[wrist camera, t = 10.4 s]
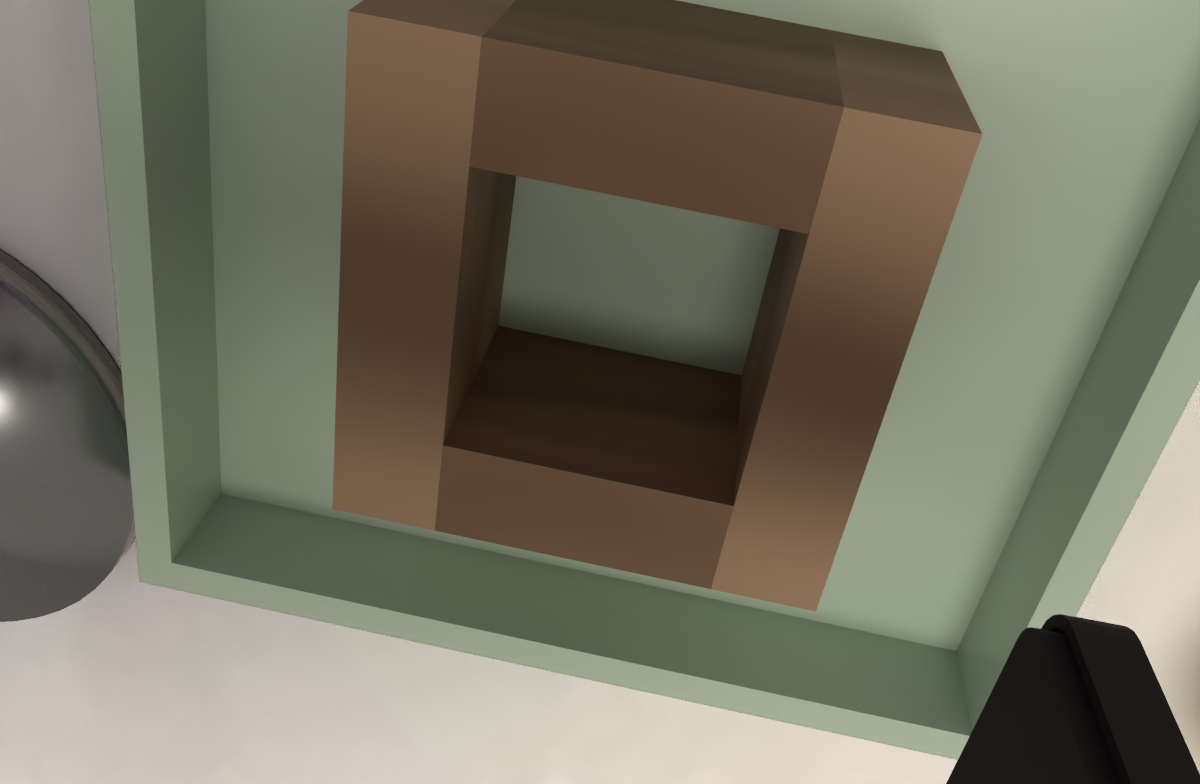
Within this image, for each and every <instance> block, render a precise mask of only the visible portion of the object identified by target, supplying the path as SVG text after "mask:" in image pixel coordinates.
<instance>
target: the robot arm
mask: <svg viewBox="0 0 1200 784" xmlns="http://www.w3.org/2000/svg"><path fill="white" fill-rule="evenodd" d="M946 784H1200V774H1199V772H1198V770H1197V767H1196V765H1195V763H1194V761H1193V758H1192V756H1191V754H1190V752H1189V749H1188V747H1187V745H1186V743H1185V740H1184V738H1183V736H1182V734H1181V731H1180V729H1179V727H1178V725H1177V723H1176V720H1175V718H1174V716H1173V714H1172V711H1171V709H1170V707H1169V705H1168V702H1167V700H1166V698H1165V696H1164V693H1163V691H1162V689H1161V687H1160V684H1159V682H1158V680H1157V678H1156V675H1155V673H1154V671H1153V669H1152V666H1151V664H1150V662H1149V660H1148V657H1147V655H1146V653H1145V651H1144V648H1143V646H1142V644H1141V642H1140V640H1139V638H1138V637H1137V635H1136V634H1135V632H1134V631H1133V630H1131V629H1129V628H1128V627H1126V626H1121V625H1115V624H1110V623H1105V622H1099V621H1094V620H1089V619H1083V618H1078V617H1073V616H1067V615H1062V614H1058V615H1053V616H1051V617H1050V618H1049V619H1048V620H1046V622H1045V623H1044V625H1043V626H1042V628H1041V629H1038V628H1033V627H1030V628H1026V629H1025V630H1023V631H1022V632H1021V634H1020V635H1019V637H1018V639H1017V641H1016V643H1015V645H1014V647H1013V649H1012V651H1011V653H1010V655H1009V657H1008V659H1007V661H1006V663H1005V665H1004V667H1003V669H1002V671H1001V673H1000V675H999V677H998V679H997V681H996V683H995V685H994V688H993V690H992V692H991V694H990V696H989V698H988V700H987V702H986V704H985V706H984V708H983V710H982V712H981V714H980V716H979V718H978V720H977V722H976V724H975V726H974V728H973V730H972V732H971V734H970V737H969V739H968V741H967V743H966V745H965V747H964V749H963V751H962V753H961V755H960V757H959V759H958V761H957V763H956V765H955V767H954V769H953V771H952V773H951V775H950V777H949V779H948V781H947V783H946Z"/></svg>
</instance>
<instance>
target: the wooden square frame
mask: <svg viewBox="0 0 1200 784" xmlns="http://www.w3.org/2000/svg"><path fill="white" fill-rule="evenodd" d="M981 137H982V132H981V130H980V128H979V126H978V124H977V122H976V120H975V118H974V116H973V114H972V112H971V110H970V108H969V105H968V103H967V101H966V99H965V97H964V95H963V93H962V91H961V89H960V87H959V85H958V83H957V81H956V79H955V77H954V75H953V73H952V71H951V68H950V66H949V64H948V62H947V60H946V58H945V56H944V54H943V52H942V51H937V50H932V49H927V48H922V47H917V46H911V45H906V44H901V43H896V42H891V41H885V40H880V39H875V38H870V37H865V36H859V35H854V34H849V33H844V32H839V31H833V30H828V29H823V28H818V27H812V26H807V25H802V24H797V23H792V22H786V21H781V20H776V19H771V18H766V17H760V16H755V15H750V14H745V13H740V12H734V11H729V10H724V9H719V8H714V7H708V6H703V5H698V4H693V3H688V2H682V1H677V0H363V1H362V2H360V3H359V4H357V5H356V6H354V7H353V8H351V9H350V10H348V22H347V54H346V86H345V118H344V150H343V183H342V215H341V247H340V279H339V312H338V344H337V376H336V408H335V440H334V473H333V505H332V509H334V510H339V511H344V512H348V513H353V514H358V515H363V516H367V517H372V518H377V519H381V520H386V521H391V522H396V523H400V524H405V525H410V526H415V527H419V528H424V529H429V530H433V531H438V532H443V533H448V534H452V535H457V536H462V537H466V538H471V539H476V540H481V541H485V542H490V543H495V544H500V545H504V546H509V547H514V548H518V549H523V550H528V551H533V552H537V553H542V554H547V555H551V556H556V557H561V558H566V559H570V560H575V561H580V562H584V563H589V564H594V565H599V566H603V567H608V568H613V569H618V570H622V571H627V572H632V573H636V574H641V575H646V576H651V577H655V578H660V579H665V580H669V581H674V582H679V583H684V584H688V585H693V586H698V587H703V588H707V589H712V590H717V591H721V592H726V593H731V594H736V595H740V596H745V597H750V598H754V599H759V600H764V601H769V602H773V603H778V604H783V605H787V606H792V607H797V608H802V609H806V610H811V611H816V610H817V607H818V604H819V601H820V598H821V596H822V593H823V590H824V587H825V584H826V581H827V578H828V575H829V573H830V570H831V567H832V564H833V561H834V558H835V555H836V553H837V550H838V547H839V544H840V541H841V538H842V535H843V532H844V530H845V527H846V524H847V521H848V518H849V515H850V512H851V510H852V507H853V504H854V501H855V498H856V495H857V492H858V489H859V487H860V484H861V481H862V478H863V475H864V472H865V469H866V467H867V464H868V461H869V458H870V455H871V452H872V449H873V447H874V444H875V441H876V438H877V435H878V432H879V429H880V426H881V424H882V421H883V418H884V415H885V412H886V409H887V406H888V404H889V401H890V398H891V395H892V392H893V389H894V386H895V383H896V381H897V378H898V375H899V372H900V369H901V366H902V363H903V361H904V358H905V355H906V352H907V349H908V346H909V343H910V341H911V338H912V335H913V332H914V329H915V326H916V323H917V320H918V318H919V315H920V312H921V309H922V306H923V303H924V300H925V298H926V295H927V292H928V289H929V286H930V283H931V280H932V277H933V275H934V272H935V269H936V266H937V263H938V260H939V257H940V255H941V252H942V249H943V246H944V243H945V240H946V237H947V234H948V232H949V229H950V226H951V223H952V220H953V217H954V214H955V212H956V209H957V206H958V203H959V200H960V197H961V194H962V192H963V189H964V186H965V183H966V180H967V177H968V174H969V171H970V169H971V166H972V163H973V160H974V157H975V154H976V151H977V149H978V146H979V143H980V140H981ZM516 176H519V177H524V178H529V179H534V180H539V181H544V182H549V183H554V184H559V185H564V186H569V187H575V188H580V189H585V190H590V191H595V192H600V193H605V194H610V195H615V196H620V197H625V198H630V199H635V200H640V201H645V202H650V203H655V204H660V205H665V206H670V207H675V208H680V209H685V210H690V211H695V212H700V213H705V214H710V215H715V216H720V217H725V218H730V219H735V220H740V221H745V222H750V223H755V224H760V225H765V226H770V227H775V228H780V230H779V234H778V238H777V242H776V245H775V249H774V253H773V257H772V261H771V265H770V268H769V272H768V276H767V280H766V284H765V288H764V291H763V295H762V299H761V303H760V307H759V311H758V315H757V318H756V322H755V326H754V330H753V334H752V338H751V341H750V345H749V349H748V353H747V357H746V361H745V364H744V368H743V372H742V375H737V374H733V373H728V372H723V371H718V370H713V369H708V368H703V367H698V366H693V365H689V364H684V363H679V362H674V361H669V360H664V359H659V358H654V357H649V356H645V355H640V354H635V353H630V352H625V351H620V350H615V349H610V348H605V347H600V346H596V345H591V344H586V343H581V342H576V341H571V340H566V339H561V338H556V337H552V336H547V335H542V334H537V333H532V332H527V331H522V330H517V329H512V328H507V327H503V326H498V325H499V317H500V309H501V300H502V292H503V284H504V275H505V267H506V258H507V250H508V242H509V233H510V225H511V217H512V208H513V200H514V191H515V183H516Z"/></svg>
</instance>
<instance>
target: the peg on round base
mask: <svg viewBox="0 0 1200 784" xmlns="http://www.w3.org/2000/svg"><path fill="white" fill-rule="evenodd" d="M135 538H136V532H135V521H134V510H133V498H132V487H131V475H130V464H129V452H128V441H127V430H126V418H125V407H124V395H123V384H122V375H121V373H120V371H119V369H118V368H117V366H116V364H115V363H114V361H113V359H112V358H111V356H110V355H109V353H108V352H107V351H106V349H105V348H104V347H103V345H102V344H101V343H100V341H99V340H98V338H97V337H96V336H95V334H94V333H93V332H92V330H91V329H90V328H89V327H88V326H87V325H86V324H85V323H84V321H83V320H82V319H81V318H80V317H79V316H78V315H77V314H76V313H75V311H74V310H73V309H72V308H71V307H70V306H69V305H68V304H67V303H66V302H65V301H64V300H63V299H62V298H61V297H60V296H58V295H57V294H56V293H55V292H54V291H53V290H52V289H51V288H50V287H49V286H48V285H47V284H45V283H44V282H43V281H42V280H41V279H40V278H38V277H37V276H36V275H34V274H33V273H32V272H31V271H29V270H28V269H27V268H25V267H24V266H23V265H21V264H20V263H19V262H17V261H16V260H15V259H14V258H12V257H11V256H9V255H7V254H6V253H4V252H3V251H1V250H0V622H4V621H18V620H24V619H30V618H37V617H40V616H44V615H47V614H50V613H53V612H56V611H59V610H61V609H64V608H66V607H68V606H70V605H72V604H74V603H76V602H78V601H79V600H81V599H82V598H83V597H85V596H86V595H87V594H89V593H90V592H92V591H93V590H94V589H95V588H96V587H97V586H98V585H99V584H100V583H101V582H102V581H103V580H104V579H105V578H106V577H107V576H108V574H109V573H110V572H111V571H112V570H113V568H114V567H115V566H116V564H117V563H118V562H119V561H120V559H121V558H122V557H123V556H124V554H125V553H126V552H127V550H128V549H129V548H130V546H131V545H132V543H133V541H134V540H135Z"/></svg>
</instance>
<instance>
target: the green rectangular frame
mask: <svg viewBox="0 0 1200 784" xmlns="http://www.w3.org/2000/svg"><path fill="white" fill-rule="evenodd" d="M362 1H363V0H89V6H90V18H91V29H92V41H93V52H94V64H95V75H96V86H97V98H98V109H99V121H100V132H101V144H102V155H103V166H104V178H105V189H106V201H107V212H108V224H109V235H110V247H111V258H112V269H113V281H114V292H115V304H116V315H117V327H118V338H119V349H120V361H121V372H122V384H123V395H124V407H125V418H126V430H127V441H128V452H129V464H130V475H131V487H132V498H133V510H134V521H135V532H136V544H137V555H138V567H139V578H140V582H143V583H148V584H153V585H157V586H162V587H166V588H171V589H176V590H180V591H185V592H189V593H194V594H199V595H203V596H208V597H212V598H217V599H221V600H226V601H231V602H235V603H240V604H244V605H249V606H254V607H258V608H263V609H267V610H272V611H277V612H281V613H286V614H290V615H295V616H300V617H304V618H309V619H313V620H318V621H323V622H327V623H332V624H336V625H341V626H345V627H350V628H355V629H359V630H364V631H368V632H373V633H378V634H382V635H387V636H391V637H396V638H401V639H405V640H410V641H414V642H419V643H424V644H428V645H433V646H437V647H442V648H446V649H451V650H456V651H460V652H465V653H469V654H474V655H479V656H483V657H488V658H492V659H497V660H502V661H506V662H511V663H515V664H520V665H525V666H529V667H534V668H538V669H543V670H547V671H552V672H557V673H561V674H566V675H570V676H575V677H580V678H584V679H589V680H593V681H598V682H603V683H607V684H612V685H616V686H621V687H626V688H630V689H635V690H639V691H644V692H648V693H653V694H658V695H662V696H667V697H671V698H676V699H681V700H685V701H690V702H694V703H699V704H704V705H708V706H713V707H717V708H722V709H727V710H731V711H736V712H740V713H745V714H749V715H754V716H759V717H763V718H768V719H772V720H777V721H782V722H786V723H791V724H795V725H800V726H805V727H809V728H814V729H818V730H823V731H828V732H832V733H837V734H841V735H846V736H851V737H855V738H860V739H864V740H869V741H873V742H878V743H883V744H887V745H892V746H896V747H901V748H906V749H910V750H915V751H919V752H924V753H929V754H933V755H938V756H942V757H947V758H952V759H956V760H958V759H959V757H960V755H961V753H962V751H963V749H964V747H965V745H966V743H967V741H968V739H969V737H970V734H971V732H972V730H973V728H974V726H975V724H976V722H977V720H978V718H979V716H980V714H981V712H982V710H983V708H984V706H985V704H986V702H987V700H988V698H989V696H990V694H991V692H992V690H993V688H994V685H995V683H996V681H997V679H998V677H999V675H1000V673H1001V671H1002V669H1003V667H1004V665H1005V663H1006V661H1007V659H1008V657H1009V655H1010V653H1011V651H1012V649H1013V647H1014V645H1015V643H1016V641H1017V639H1018V637H1019V635H1020V634H1021V632H1022V631H1023V630H1025V629H1026V628H1030V627H1033V628H1038V629H1041V628H1042V626H1043V625H1044V623H1045V622H1046V620H1048V619H1049V618H1050V617H1051V616H1053V615H1058V614H1062V615H1067V616H1073V617H1076V615H1077V613H1078V611H1079V609H1080V607H1081V606H1082V604H1083V602H1084V600H1085V598H1086V596H1087V594H1088V592H1089V590H1090V588H1091V586H1092V585H1093V583H1094V581H1095V579H1096V577H1097V575H1098V573H1099V571H1100V569H1101V567H1102V566H1103V564H1104V562H1105V560H1106V558H1107V556H1108V554H1109V552H1110V550H1111V548H1112V546H1113V545H1114V543H1115V541H1116V539H1117V537H1118V535H1119V533H1120V531H1121V529H1122V527H1123V525H1124V524H1125V522H1126V520H1127V518H1128V516H1129V514H1130V512H1131V510H1132V508H1133V506H1134V505H1135V503H1136V501H1137V499H1138V497H1139V495H1140V493H1141V491H1142V489H1143V487H1144V485H1145V484H1146V482H1147V480H1148V478H1149V476H1150V474H1151V472H1152V470H1153V468H1154V466H1155V464H1156V463H1157V461H1158V459H1159V457H1160V455H1161V453H1162V451H1163V449H1164V447H1165V445H1166V444H1167V442H1168V440H1169V438H1170V436H1171V434H1172V432H1173V430H1174V428H1175V426H1176V424H1177V423H1178V421H1179V419H1180V417H1181V415H1182V413H1183V411H1184V409H1185V407H1186V405H1187V403H1188V402H1189V400H1190V398H1191V396H1192V394H1193V392H1194V390H1195V388H1196V386H1197V384H1198V383H1199V381H1200V0H677V1H682V2H688V3H693V4H698V5H703V6H708V7H714V8H719V9H724V10H729V11H734V12H740V13H745V14H750V15H755V16H760V17H766V18H771V19H776V20H781V21H786V22H792V23H797V24H802V25H807V26H812V27H818V28H823V29H828V30H833V31H839V32H844V33H849V34H854V35H859V36H865V37H870V38H875V39H880V40H885V41H891V42H896V43H901V44H906V45H911V46H917V47H922V48H927V49H932V50H937V51H942V52H943V54H944V56H945V58H946V60H947V62H948V64H949V66H950V68H951V71H952V73H953V75H954V77H955V79H956V81H957V83H958V85H959V87H960V89H961V91H962V93H963V95H964V97H965V99H966V101H967V103H968V105H969V108H970V110H971V112H972V114H973V116H974V118H975V120H976V122H977V124H978V126H979V128H980V130H981V132H982V137H981V140H980V143H979V146H978V149H977V151H976V154H975V157H974V160H973V163H972V166H971V169H970V171H969V174H968V177H967V180H966V183H965V186H964V189H963V192H962V194H961V197H960V200H959V203H958V206H957V209H956V212H955V214H954V217H953V220H952V223H951V226H950V229H949V232H948V234H947V237H946V240H945V243H944V246H943V249H942V252H941V255H940V257H939V260H938V263H937V266H936V269H935V272H934V275H933V277H932V280H931V283H930V286H929V289H928V292H927V295H926V298H925V300H924V303H923V306H922V309H921V312H920V315H919V318H918V320H917V323H916V326H915V329H914V332H913V335H912V338H911V341H910V343H909V346H908V349H907V352H906V355H905V358H904V361H903V363H902V366H901V369H900V372H899V375H898V378H897V381H896V383H895V386H894V389H893V392H892V395H891V398H890V401H889V404H888V406H887V409H886V412H885V415H884V418H883V421H882V424H881V426H880V429H879V432H878V435H877V438H876V441H875V444H874V447H873V449H872V452H871V455H870V458H869V461H868V464H867V467H866V469H865V472H864V475H863V478H862V481H861V484H860V487H859V489H858V492H857V495H856V498H855V501H854V504H853V507H852V510H851V512H850V515H849V518H848V521H847V524H846V527H845V530H844V532H843V535H842V538H841V541H840V544H839V547H838V550H837V553H836V555H835V558H834V561H833V564H832V567H831V570H830V573H829V575H828V578H827V581H826V584H825V587H824V590H823V593H822V596H821V598H820V601H819V604H818V607H817V610H816V611H811V610H806V609H802V608H797V607H792V606H787V605H783V604H778V603H773V602H769V601H764V600H759V599H754V598H750V597H745V596H740V595H736V594H731V593H726V592H721V591H717V590H712V589H707V588H703V587H698V586H693V585H688V584H684V583H679V582H674V581H669V580H665V579H660V578H655V577H651V576H646V575H641V574H636V573H632V572H627V571H622V570H618V569H613V568H608V567H603V566H599V565H594V564H589V563H584V562H580V561H575V560H570V559H566V558H561V557H556V556H551V555H547V554H542V553H537V552H533V551H528V550H523V549H518V548H514V547H509V546H504V545H500V544H495V543H490V542H485V541H481V540H476V539H471V538H466V537H462V536H457V535H452V534H448V533H443V532H438V531H433V530H429V529H424V528H419V527H415V526H410V525H405V524H400V523H396V522H391V521H386V520H381V519H377V518H372V517H367V516H363V515H358V514H353V513H348V512H344V511H339V510H334V509H332V505H333V473H334V440H335V408H336V376H337V344H338V312H339V279H340V247H341V215H342V183H343V150H344V118H345V86H346V54H347V22H348V10H350V9H351V8H353V7H354V6H356V5H357V4H359V3H360V2H362ZM779 230H780V228H775V227H770V226H765V225H760V224H755V223H750V222H745V221H740V220H735V219H730V218H725V217H720V216H715V215H710V214H705V213H700V212H695V211H690V210H685V209H680V208H675V207H670V206H665V205H660V204H655V203H650V202H645V201H640V200H635V199H630V198H625V197H620V196H615V195H610V194H605V193H600V192H595V191H590V190H585V189H580V188H575V187H569V186H564V185H559V184H554V183H549V182H544V181H539V180H534V179H529V178H524V177H519V176H516V183H515V191H514V200H513V208H512V217H511V225H510V233H509V242H508V250H507V258H506V267H505V275H504V284H503V292H502V300H501V309H500V317H499V325H498V326H503V327H507V328H512V329H517V330H522V331H527V332H532V333H537V334H542V335H547V336H552V337H556V338H561V339H566V340H571V341H576V342H581V343H586V344H591V345H596V346H600V347H605V348H610V349H615V350H620V351H625V352H630V353H635V354H640V355H645V356H649V357H654V358H659V359H664V360H669V361H674V362H679V363H684V364H689V365H693V366H698V367H703V368H708V369H713V370H718V371H723V372H728V373H733V374H737V375H742V372H743V368H744V364H745V361H746V357H747V353H748V349H749V345H750V341H751V338H752V334H753V330H754V326H755V322H756V318H757V315H758V311H759V307H760V303H761V299H762V295H763V291H764V288H765V284H766V280H767V276H768V272H769V268H770V265H771V261H772V257H773V253H774V249H775V245H776V242H777V238H778V234H779Z"/></svg>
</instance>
